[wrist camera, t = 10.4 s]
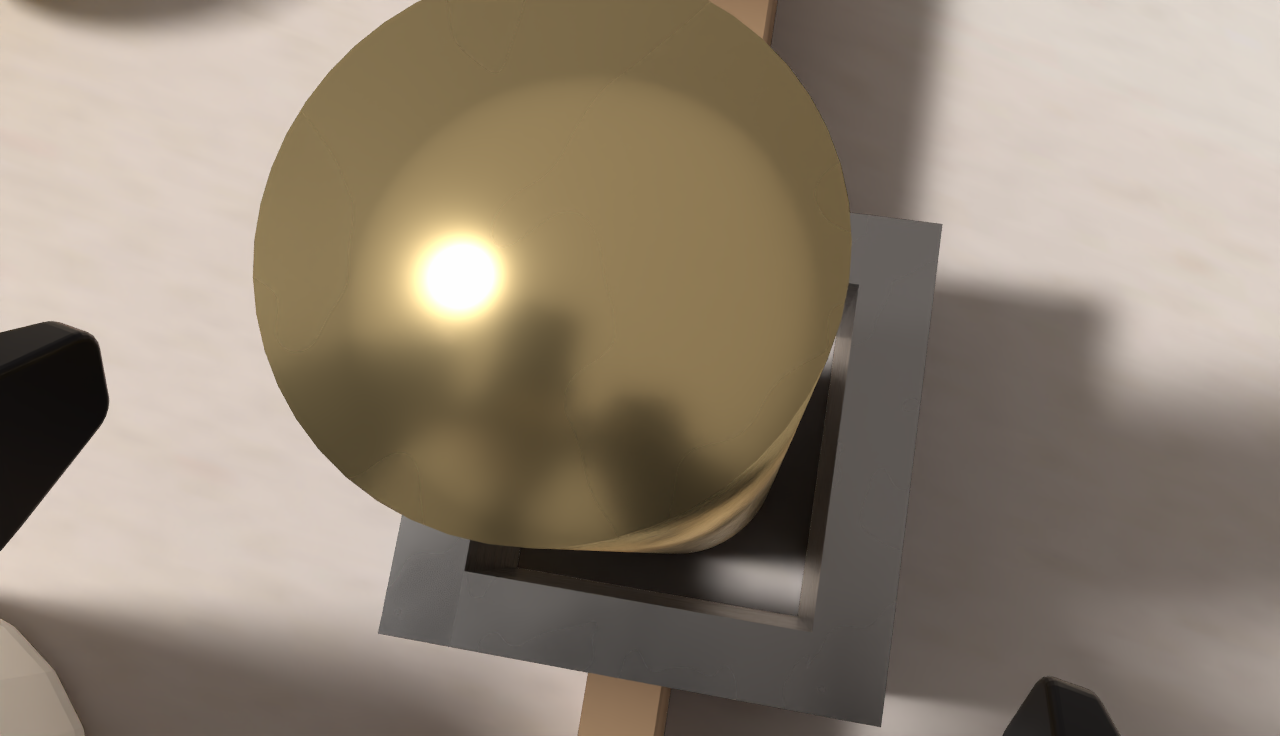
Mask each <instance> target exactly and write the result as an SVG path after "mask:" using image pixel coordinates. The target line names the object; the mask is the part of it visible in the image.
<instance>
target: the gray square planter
mask: <svg viewBox="0 0 1280 736" xmlns="http://www.w3.org/2000/svg"><path fill="white" fill-rule="evenodd" d="M850 223H851V237H852V246H851V262H850V277H849V285H848V289H847V294H846V299H845V304H844V309H843V314H842V319H841V322H840V325H839V328H838V331H837V333H836V341H835V348H834V355H833V363H832V370H831V377H830V384H829V392H828V399H827V406H826V414H825V421H824V428H823V435H822V443H821V450H820V457H819V465H818V472H817V479H816V486H815V494H814V501H813V508H812V516H811V523H810V530H809V538H808V545H807V552H806V559H805V567H804V574H803V581H802V589H801V596H800V603H799V610H798V616H792V615H787V614H781V613H775V612H769V611H764V610H758V609H752V608H747V607H741V606H735V605H729V604H724V603H718V602H712V601H706V600H701V599H695V598H689V597H684V596H678V595H672V594H666V593H661V592H655V591H649V590H644V589H638V588H632V587H626V586H621V585H615V584H609V583H604V582H598V581H592V580H586V579H581V578H575V577H569V576H564V575H558V574H552V573H546V572H541V571H535V570H529V569H523V568H518V567H517V566H518V561H519V555H520V550H521V547H513V546H503V545H493V544H486V543H482V542H478V541H473V540H469V539H465V538H461V537H457V536H453V535H449V534H446V533H443V532H441V531H438V530H436V529H433V528H431V527H428V526H426V525H423V524H420V523H418V522H415V521H413V520H410V519H409V518H407V517H405V516H403V515H402V518H401V523H400V528H399V533H398V538H397V543H396V548H395V553H394V557H393V562H392V567H391V572H390V577H389V582H388V587H387V592H386V597H385V602H384V607H383V612H382V617H381V622H380V627H379V632H378V634H384V635H389V636H394V637H400V638H405V639H411V640H416V641H421V642H427V643H432V644H437V645H443V646H448V647H453V648H459V649H464V650H470V651H475V652H480V653H486V654H491V655H496V656H502V657H507V658H513V659H518V660H523V661H529V662H534V663H539V664H545V665H550V666H555V667H561V668H566V669H572V670H577V671H582V672H588V673H593V674H598V675H604V676H609V677H614V678H620V679H625V680H631V681H636V682H641V683H647V684H652V685H657V686H663V687H668V688H673V689H679V690H684V691H690V692H695V693H700V694H706V695H711V696H716V697H722V698H727V699H733V700H738V701H743V702H749V703H754V704H759V705H765V706H770V707H775V708H781V709H786V710H792V711H797V712H802V713H808V714H813V715H818V716H824V717H829V718H834V719H840V720H845V721H851V722H856V723H861V724H867V725H872V726H877V727H881V722H882V714H883V706H884V698H885V689H886V681H887V673H888V665H889V657H890V648H891V640H892V632H893V624H894V616H895V608H896V599H897V591H898V583H899V575H900V567H901V558H902V550H903V542H904V534H905V526H906V517H907V509H908V501H909V493H910V485H911V476H912V468H913V460H914V452H915V444H916V435H917V427H918V419H919V411H920V403H921V394H922V386H923V378H924V370H925V362H926V354H927V345H928V337H929V329H930V321H931V313H932V304H933V296H934V288H935V280H936V272H937V263H938V255H939V247H940V239H941V231H942V224H937V223H929V222H921V221H913V220H905V219H897V218H889V217H881V216H873V215H865V214H857V213H850Z"/></svg>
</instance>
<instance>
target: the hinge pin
mask: <svg viewBox="0 0 1280 736" xmlns="http://www.w3.org/2000/svg"><path fill="white" fill-rule="evenodd" d="M851 246H852V237H851V223H850V210H849V200H848V196H847V191H846V186H845V182H844V177H843V172H842V168H841V164H840V161H839V158H838V156H837V153H836V150H835V147H834V145H833V142H832V139H831V137H830V134H829V131H828V129H827V127H826V125H825V123H824V121H823V119H822V117H821V115H820V114H819V112H818V110H817V108H816V106H815V104H814V102H813V101H812V99H811V97H810V95H809V94H808V92H807V91H806V90H805V88H804V87H803V85H802V84H801V83H800V81H799V80H798V79H797V77H796V76H795V74H794V73H793V72H792V70H791V69H790V68H789V66H788V65H787V64H786V63H785V62H784V61H783V60H782V59H781V58H780V57H779V56H778V55H777V53H776V52H775V51H774V50H773V49H772V48H771V47H770V46H769V45H768V44H767V43H766V42H765V41H764V40H763V39H762V38H761V37H760V36H758V35H757V34H756V33H755V32H753V31H752V30H751V29H750V28H748V27H747V26H746V25H744V24H743V23H742V22H741V21H739V20H738V19H737V18H736V17H734V16H733V15H731V14H730V13H728V12H726V11H725V10H723V9H721V8H720V7H718V6H716V5H715V4H713V3H711V2H710V1H708V0H421V1H419V2H417V3H415V4H413V5H412V6H410V7H408V8H407V9H405V10H404V11H402V12H400V13H399V14H397V15H396V16H394V17H392V18H391V19H389V20H388V21H386V22H384V23H383V24H382V25H381V26H379V27H378V28H377V29H376V30H374V31H373V32H372V33H371V34H369V35H368V36H367V37H365V38H364V39H363V40H362V41H360V42H359V43H358V44H357V45H355V46H354V47H353V48H352V49H351V50H350V51H349V52H348V53H347V54H346V55H345V56H344V58H343V59H342V60H341V61H340V62H339V63H338V64H337V65H336V66H335V67H334V68H333V69H332V70H331V71H330V72H329V73H328V74H327V75H326V77H325V78H324V79H323V80H322V82H321V83H320V84H319V86H318V87H317V88H316V89H315V91H314V92H313V93H312V95H311V96H310V97H309V98H308V100H307V101H306V102H305V104H304V106H303V107H302V109H301V111H300V112H299V114H298V116H297V117H296V119H295V121H294V122H293V124H292V126H291V127H290V129H289V131H288V132H287V134H286V136H285V139H284V141H283V143H282V145H281V148H280V150H279V152H278V154H277V157H276V159H275V161H274V163H273V166H272V168H271V171H270V174H269V178H268V181H267V184H266V188H265V191H264V194H263V197H262V201H261V205H260V210H259V216H258V222H257V228H256V234H255V240H254V264H253V283H254V294H255V305H256V315H257V319H258V323H259V328H260V332H261V336H262V341H263V345H264V350H265V353H266V355H267V358H268V361H269V363H270V366H271V368H272V371H273V374H274V376H275V379H276V382H277V384H278V387H279V388H280V390H281V392H282V394H283V396H284V398H285V399H286V401H287V403H288V405H289V407H290V409H291V410H292V412H293V414H294V416H295V418H296V419H297V421H298V422H299V423H300V425H301V426H302V427H303V429H304V430H305V431H306V433H307V434H308V436H309V437H310V438H311V440H312V441H313V442H314V444H315V445H316V446H317V448H318V449H319V450H320V451H321V452H322V453H323V454H324V455H325V456H326V457H327V458H328V459H329V460H330V461H331V462H332V463H333V464H334V465H335V466H336V467H337V468H338V469H339V470H340V471H341V472H342V473H343V474H344V476H345V477H347V478H348V479H349V480H351V481H352V482H353V483H355V484H356V485H357V486H358V487H360V488H361V489H362V490H364V491H365V492H366V493H368V494H369V495H370V496H372V497H373V498H374V499H375V500H377V501H379V502H380V503H382V504H384V505H386V506H387V507H389V508H391V509H393V510H395V511H396V512H398V513H400V514H402V515H403V516H405V517H407V518H409V519H410V520H413V521H415V522H418V523H420V524H423V525H426V526H428V527H431V528H433V529H436V530H438V531H441V532H443V533H446V534H449V535H453V536H457V537H461V538H465V539H469V540H473V541H478V542H482V543H486V544H493V545H503V546H513V547H523V548H540V549H565V550H589V551H614V552H639V553H664V554H685V553H692V552H698V551H702V550H705V549H708V548H712V547H714V546H716V545H718V544H721V543H723V542H725V541H726V540H728V539H729V538H731V537H733V536H734V535H736V534H737V533H738V532H739V531H740V530H742V529H743V528H744V527H745V526H746V525H747V524H748V523H749V522H750V521H751V520H752V519H753V517H754V516H755V515H756V514H757V512H758V511H759V509H760V508H761V506H762V505H763V503H764V501H765V499H766V497H767V495H768V493H769V491H770V488H771V486H772V484H773V481H774V479H775V477H776V475H777V472H778V470H779V468H780V466H781V463H782V461H783V459H784V456H785V454H786V452H787V450H788V447H789V445H790V443H791V441H792V438H793V436H794V434H795V432H796V429H797V427H798V425H799V422H800V420H801V418H802V416H803V413H804V411H805V409H806V407H807V404H808V402H809V400H810V397H811V395H812V393H813V391H814V388H815V386H816V384H817V382H818V379H819V377H820V375H821V372H822V370H823V368H824V366H825V363H826V361H827V359H828V356H829V353H830V350H831V348H832V345H833V342H834V339H835V336H836V333H837V331H838V328H839V325H840V322H841V319H842V314H843V309H844V304H845V299H846V294H847V289H848V285H849V277H850V262H851Z"/></svg>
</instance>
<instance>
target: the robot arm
mask: <svg viewBox="0 0 1280 736" xmlns="http://www.w3.org/2000/svg"><path fill="white" fill-rule="evenodd" d="M108 407H109V395H108V389H107V384H106V378H105V373H104V368H103V362H102V357H101V351H100V347H99V344H98V342H97V340H96V339H95V337H94V336H93V335H91V334H90V333H88V332H86V331H83V330H80V329H77V328H74V327H72V326H69V325H66V324H63V323H60V322H54V321H48V322H42V323H38V324H34V325H30V326H26V327H21V328H17V329H13V330H9V331H5V332H1V333H0V551H1V550H2V549H3V548H4V547H5V545H6V544H7V543H8V542H9V541H10V539H11V538H12V537H13V536H14V535H15V533H16V532H17V531H18V530H19V529H20V527H21V526H22V525H23V524H24V522H25V521H26V520H27V519H28V517H29V516H30V515H31V514H32V512H33V511H34V510H35V508H36V507H37V506H38V505H39V503H40V502H41V501H42V500H43V498H44V497H45V496H46V494H47V493H48V492H49V491H50V489H51V488H52V487H53V486H54V484H55V483H56V482H57V481H58V479H59V478H60V477H61V475H62V474H63V473H64V472H65V470H66V469H67V468H68V467H69V465H70V464H71V463H72V462H73V460H74V459H75V458H76V456H77V455H78V454H79V453H80V451H81V450H82V449H83V448H84V446H85V445H86V444H87V442H88V441H89V440H90V439H91V437H92V436H93V435H94V434H95V432H96V431H97V430H98V429H99V427H100V426H101V424H102V423H103V421H104V419H105V417H106V414H107V411H108ZM1003 736H1120V734H1119V732H1118V730H1117V729H1116V727H1115V725H1114V723H1113V721H1112V720H1111V718H1110V716H1109V714H1108V712H1107V711H1106V709H1105V707H1104V705H1103V703H1102V702H1101V700H1100V699H1099V698H1098V697H1097V695H1096V694H1095V693H1093V692H1092V691H1090V690H1089V689H1086V688H1083V687H1080V686H1077V685H1075V684H1072V683H1069V682H1066V681H1063V680H1061V679H1058V678H1055V677H1050V676H1047V677H1043V678H1042V679H1040V680H1039V681H1038V682H1037V683H1036V684H1035V686H1034V687H1033V689H1032V690H1031V692H1030V693H1029V695H1028V696H1027V698H1026V699H1025V701H1024V702H1023V704H1022V705H1021V707H1020V708H1019V710H1018V711H1017V713H1016V714H1015V716H1014V717H1013V719H1012V720H1011V722H1010V723H1009V725H1008V727H1007V728H1006V730H1005V731H1004V734H1003Z"/></svg>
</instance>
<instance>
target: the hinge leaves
mask: <svg viewBox="0 0 1280 736" xmlns="http://www.w3.org/2000/svg"><path fill="white" fill-rule="evenodd" d="M708 1H710V2H711V3H713V4H715V5H716V6H718V7H720V8H721V9H723V10H725V11H726V12H728V13H730V14H731V15H733V16H734V17H736V18H737V19H738V20H739V21H741V22H742V23H743V24H744V25H746V26H747V27H748V28H750V29H751V30H752V31H753V32H755V33H756V34H757V35H758V36H760V37H761V38H762V39H763V40H764V41H765V42H766V43H767V44H768V45H769V46H770V47H771V41H772V34H773V28H774V21H775V15H776V8H777V2H778V0H708ZM670 692H671V688H668V687H663V686H657V685H652V684H647V683H641V682H636V681H631V680H625V679H620V678H614V677H609V676H604V675H598V674H593V673H588V676H587V682H586V688H585V694H584V700H583V706H582V712H581V718H580V724H579V730H578V736H664V730H665V724H666V717H667V711H668V705H669V698H670Z"/></svg>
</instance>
